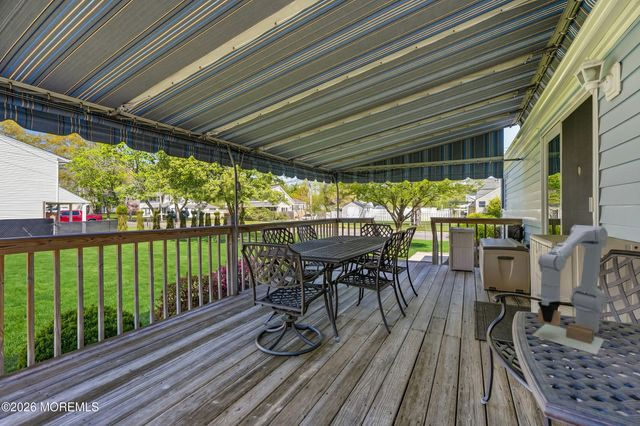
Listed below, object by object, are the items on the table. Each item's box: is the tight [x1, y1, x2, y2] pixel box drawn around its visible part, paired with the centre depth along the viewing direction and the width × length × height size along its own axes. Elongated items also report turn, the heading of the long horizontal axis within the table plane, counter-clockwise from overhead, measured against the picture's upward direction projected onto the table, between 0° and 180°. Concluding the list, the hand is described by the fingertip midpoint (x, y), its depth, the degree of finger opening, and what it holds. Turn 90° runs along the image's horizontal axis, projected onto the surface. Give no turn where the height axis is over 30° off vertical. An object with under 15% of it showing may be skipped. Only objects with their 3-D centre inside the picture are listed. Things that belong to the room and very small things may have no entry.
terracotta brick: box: [537, 307, 562, 327], centre depth 110 cm, size 4×6×4 cm
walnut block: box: [565, 322, 595, 344], centre depth 109 cm, size 7×7×4 cm
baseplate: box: [531, 323, 605, 356], centre depth 110 cm, size 20×18×1 cm
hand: (549, 320), depth 110 cm, fingers closed on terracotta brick, 4 cm apart
